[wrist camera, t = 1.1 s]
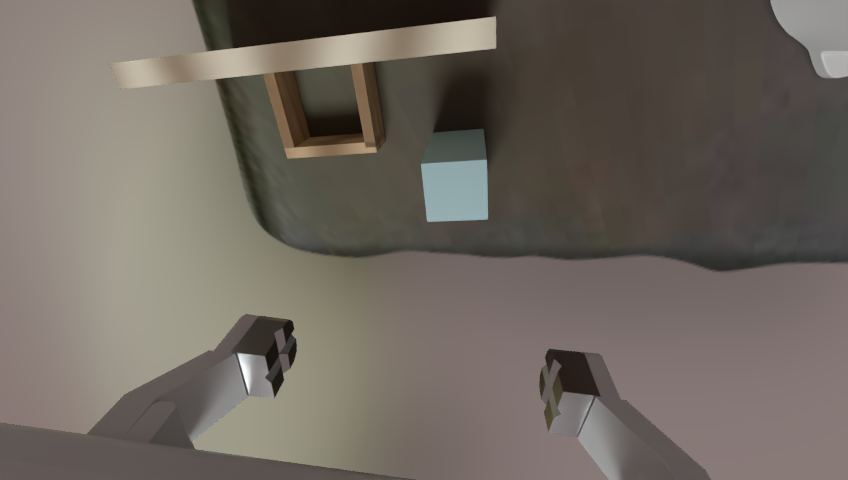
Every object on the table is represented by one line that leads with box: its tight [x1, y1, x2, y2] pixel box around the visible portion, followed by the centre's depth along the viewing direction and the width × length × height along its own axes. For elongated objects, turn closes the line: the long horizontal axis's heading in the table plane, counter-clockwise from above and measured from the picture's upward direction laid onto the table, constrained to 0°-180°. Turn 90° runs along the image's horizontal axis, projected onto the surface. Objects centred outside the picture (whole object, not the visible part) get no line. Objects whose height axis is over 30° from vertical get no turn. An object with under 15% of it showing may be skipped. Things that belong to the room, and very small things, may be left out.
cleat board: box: [109, 17, 496, 158], centre depth 29 cm, size 24×10×14 cm, turn 96°
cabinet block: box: [421, 129, 488, 222], centre depth 33 cm, size 5×6×10 cm
